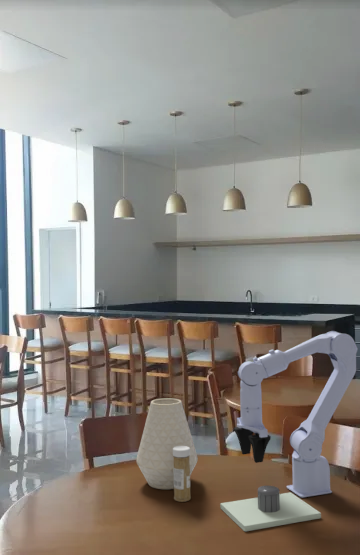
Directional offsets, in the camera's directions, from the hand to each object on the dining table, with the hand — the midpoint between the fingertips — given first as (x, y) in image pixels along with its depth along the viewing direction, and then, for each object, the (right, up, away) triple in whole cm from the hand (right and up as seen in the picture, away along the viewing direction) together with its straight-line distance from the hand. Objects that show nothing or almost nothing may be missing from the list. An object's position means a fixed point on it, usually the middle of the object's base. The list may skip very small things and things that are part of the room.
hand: (252, 457), depth 145 cm
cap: (+2, -8, -13) cm, 16 cm away
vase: (-23, -10, +9) cm, 27 cm away
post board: (+2, -9, -13) cm, 16 cm away
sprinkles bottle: (-19, -10, -3) cm, 21 cm away
